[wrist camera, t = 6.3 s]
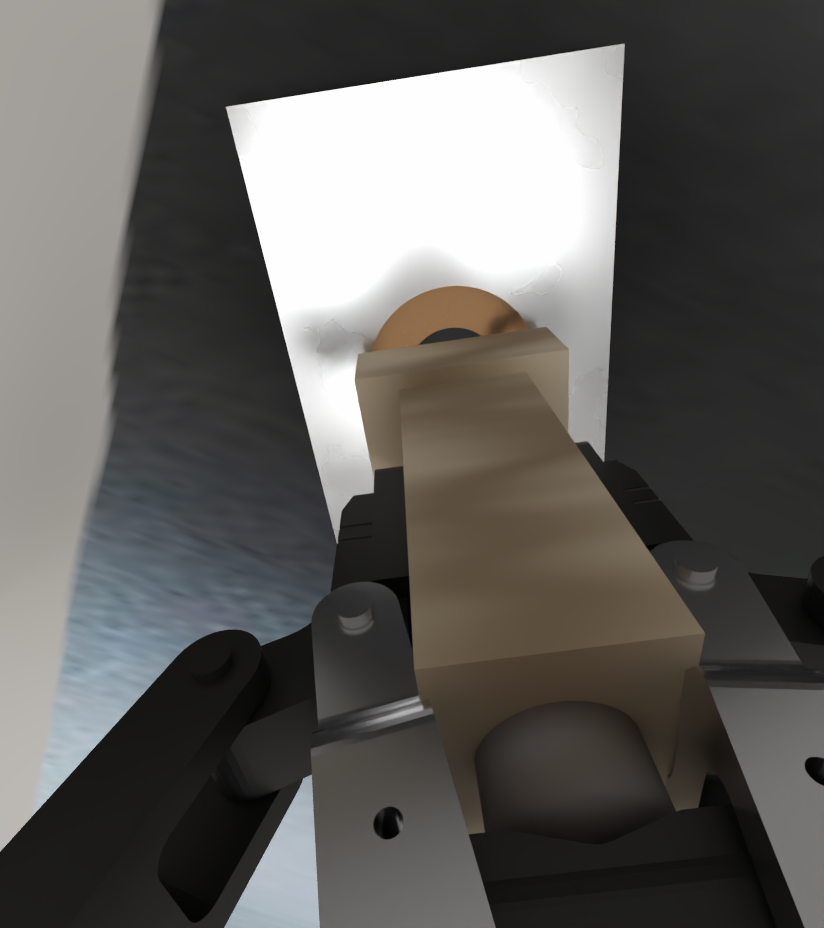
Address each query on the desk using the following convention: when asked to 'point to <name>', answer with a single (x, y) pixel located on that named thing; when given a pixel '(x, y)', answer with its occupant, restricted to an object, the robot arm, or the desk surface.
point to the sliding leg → (527, 592)
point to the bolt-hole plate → (437, 228)
